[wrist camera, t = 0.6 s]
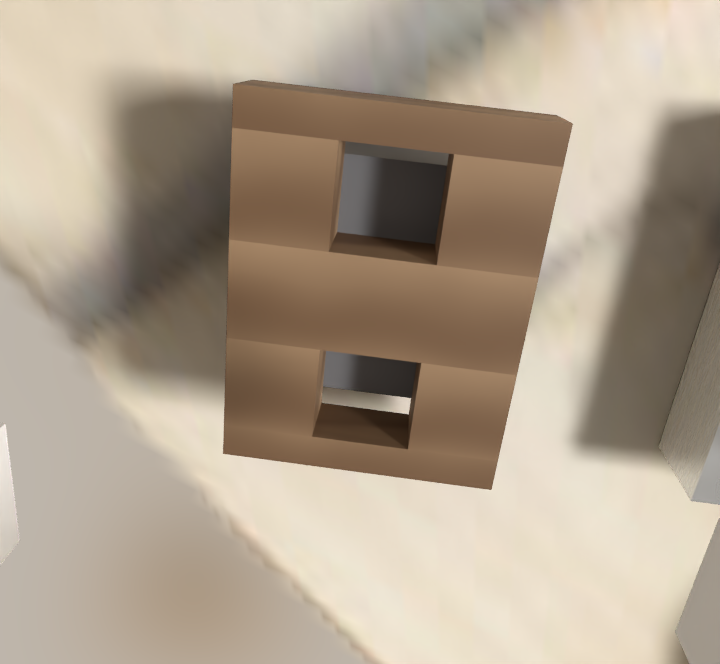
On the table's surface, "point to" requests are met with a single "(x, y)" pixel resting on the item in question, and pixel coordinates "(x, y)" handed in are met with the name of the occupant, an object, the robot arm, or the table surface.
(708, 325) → the chassis
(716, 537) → the robot arm
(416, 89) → the table surface
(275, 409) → the board
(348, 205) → the riser
